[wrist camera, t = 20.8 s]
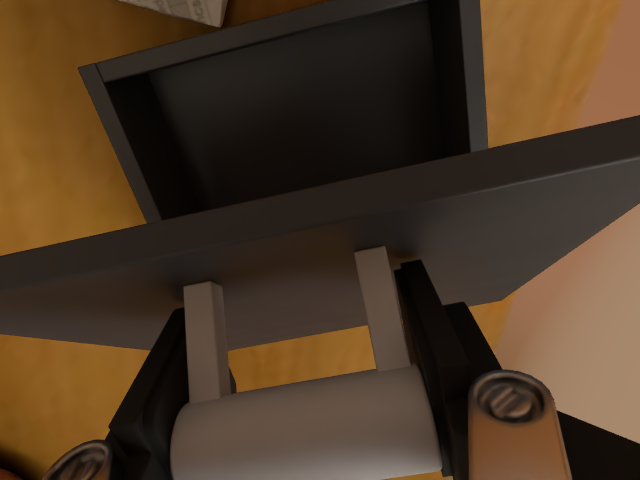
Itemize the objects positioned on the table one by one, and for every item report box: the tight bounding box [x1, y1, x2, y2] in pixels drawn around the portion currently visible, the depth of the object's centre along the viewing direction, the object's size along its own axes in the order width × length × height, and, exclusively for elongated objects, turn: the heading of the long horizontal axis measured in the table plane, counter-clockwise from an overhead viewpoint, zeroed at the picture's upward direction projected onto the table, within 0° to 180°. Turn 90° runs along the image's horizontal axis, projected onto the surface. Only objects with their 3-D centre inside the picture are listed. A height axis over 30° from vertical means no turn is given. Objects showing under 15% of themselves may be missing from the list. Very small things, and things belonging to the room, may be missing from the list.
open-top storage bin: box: [78, 0, 488, 224], centre depth 22 cm, size 15×16×6 cm
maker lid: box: [0, 115, 640, 480], centre depth 14 cm, size 15×16×5 cm
